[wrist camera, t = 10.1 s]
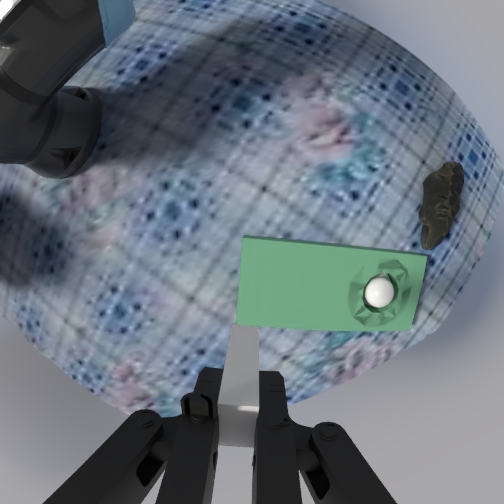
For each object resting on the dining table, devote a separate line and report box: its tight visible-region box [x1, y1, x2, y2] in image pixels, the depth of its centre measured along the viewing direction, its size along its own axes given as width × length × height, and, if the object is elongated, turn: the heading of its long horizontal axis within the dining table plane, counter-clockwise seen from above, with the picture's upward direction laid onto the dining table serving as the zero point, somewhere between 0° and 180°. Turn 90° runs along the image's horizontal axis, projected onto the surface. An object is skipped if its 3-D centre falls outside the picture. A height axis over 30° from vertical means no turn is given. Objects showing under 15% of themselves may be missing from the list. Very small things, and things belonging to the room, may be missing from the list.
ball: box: [365, 277, 394, 308], centre depth 33 cm, size 4×4×4 cm
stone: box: [419, 161, 464, 251], centre depth 30 cm, size 7×13×5 cm, turn 162°
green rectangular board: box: [236, 235, 427, 331], centre depth 34 cm, size 25×11×2 cm, turn 85°
